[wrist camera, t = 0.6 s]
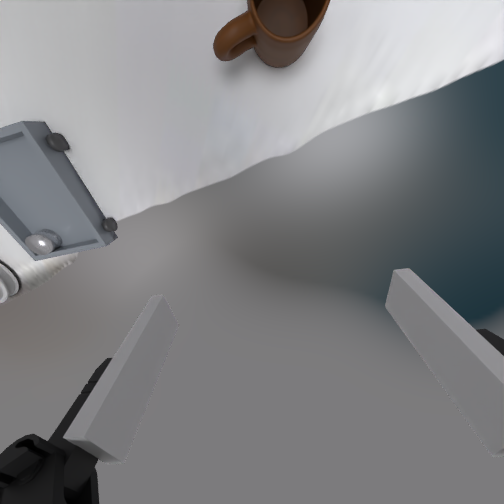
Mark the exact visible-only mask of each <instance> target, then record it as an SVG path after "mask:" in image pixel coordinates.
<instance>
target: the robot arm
mask: <svg viewBox="0 0 504 504" xmlns="http://www.w3.org/2000/svg"><path fill="white" fill-rule="evenodd" d="M385 307H386V308H387V310H388V311H389V313H390V314H391V315H392V317H393V318H394V320H395V321H396V323H397V324H398V325H399V327H400V328H401V330H402V331H403V332H404V334H405V335H406V337H407V338H408V339H409V341H410V342H411V344H412V345H413V346H414V348H415V349H416V351H417V352H418V353H419V355H420V356H421V358H422V359H423V360H424V362H425V363H426V365H427V366H428V367H429V369H430V370H431V372H432V373H433V374H434V376H435V377H436V379H437V380H438V381H439V383H440V384H441V386H442V387H443V389H444V390H445V391H446V393H447V394H448V396H449V397H450V398H451V400H452V401H453V403H454V404H455V405H456V407H457V408H458V409H459V411H460V412H461V414H462V415H463V416H464V418H465V419H466V421H467V422H468V424H469V425H470V426H471V428H472V429H473V431H474V432H475V433H476V435H477V436H478V437H479V439H480V440H481V442H482V443H483V445H484V446H485V447H486V449H487V450H488V452H489V453H490V454H491V456H492V457H504V339H502V338H500V337H499V336H497V335H495V334H493V333H492V332H490V331H488V330H486V329H480V330H475V329H474V328H473V327H471V325H470V324H468V323H467V322H466V321H465V320H464V319H463V318H462V317H461V316H460V315H459V314H458V313H457V312H456V311H454V310H453V309H452V308H451V307H450V306H449V305H448V304H447V303H446V302H445V301H444V300H443V299H441V298H440V297H439V296H438V295H437V294H436V293H435V292H434V291H433V290H432V289H431V288H429V286H428V285H426V284H425V283H424V282H423V281H422V280H421V279H420V278H419V277H418V276H417V275H416V274H415V273H414V272H413V271H411V270H410V269H409V268H408V269H399V270H394V272H393V276H392V280H391V284H390V288H389V292H388V296H387V300H386V304H385ZM178 327H179V324H178V322H177V320H176V318H175V316H174V314H173V312H172V310H171V308H170V306H169V304H168V302H167V300H166V298H165V296H164V295H156V296H151V298H150V300H149V301H148V303H147V304H146V306H145V307H144V309H143V311H142V312H141V314H140V316H139V317H138V319H137V320H136V322H135V323H134V325H133V327H132V328H131V330H130V332H129V333H128V335H127V336H126V338H125V339H124V341H123V343H122V344H121V346H120V347H119V349H118V350H117V352H116V354H115V355H114V357H113V358H107V359H106V360H105V361H104V362H103V363H102V364H101V365H100V366H99V367H98V368H97V369H96V370H95V372H94V373H93V375H92V376H91V378H90V379H89V381H88V384H86V385H85V387H84V388H83V390H82V392H81V394H80V395H79V396H78V397H77V399H76V400H75V402H74V403H73V405H72V406H71V408H70V409H69V411H68V412H67V414H66V415H65V417H64V418H63V420H62V421H61V423H60V425H59V426H58V427H57V429H56V430H55V432H54V433H53V435H52V436H51V437H50V439H49V440H48V441H46V440H44V439H42V438H41V437H39V436H37V435H35V434H30V435H26V436H24V437H22V438H20V439H18V440H16V441H15V442H14V443H13V444H11V445H10V446H9V447H7V448H6V449H5V450H4V451H3V452H2V453H1V454H0V504H99V493H98V479H97V472H96V469H95V468H94V467H95V465H96V463H97V461H98V459H99V460H101V461H102V462H104V463H106V464H123V463H124V462H125V460H126V457H127V455H128V453H129V450H130V447H131V445H132V442H133V440H134V437H135V435H136V432H137V430H138V427H139V425H140V422H141V420H142V417H143V415H144V412H145V410H146V407H147V405H148V402H149V399H150V397H151V395H152V392H153V390H154V387H155V384H156V382H157V379H158V377H159V374H160V372H161V369H162V367H163V364H164V362H165V359H166V357H167V354H168V352H169V349H170V346H171V344H172V342H173V339H174V337H175V334H176V332H177V329H178Z"/></svg>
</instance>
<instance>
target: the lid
mask: <svg viewBox="0 0 504 504" xmlns="http://www.w3.org/2000/svg"><path fill="white" fill-rule="evenodd" d="M18 290H19V284H18V281H17V279H16V277H15V276H14V275H13V274H12V272H11V271H10V270H9V269H7V268H6V267H5V266H4V265H2V264H1V263H0V303H2V302H4V301H5V300H7V298H8V297H9V296H12V295H14V294H16V293H17V292H18Z"/></svg>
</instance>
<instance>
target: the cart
mask: <svg viewBox="0 0 504 504" xmlns="http://www.w3.org/2000/svg"><path fill="white" fill-rule="evenodd" d="M68 147H69V146H68V143H67V141H66V140H65V138H64V137H62V136H61V135H60V134H58V133H51V131H50V129H49V128H48V126H47V125H46V123H45V122H33V121H21V122H18V123H15V124H12V125H9V126H5V127H2V128H0V224H1V225H2V226H3V227H4V228H5V229H6V230H7V231H8V232H9V233H10V234H11V236H12V237H13V238H14V239H15V240H16V241H17V242H18V243H19V244H20V245H21V246H22V247H23V249H24V250H25V251H26V252H27V253H28V254H29V255H30V256H31V257H32V258H33V259H34V260H35V261H38V260H42V259H47V258H52V257H57V256H61V255H66V254H71V253H76V252H80V251H85V250H90V249H95V248H100V247H104V246H107V245H108V244H110V243H111V242H112V241H114V240H115V239H116V238H118V237H117V235H116V234H115V232H114V231H116V230H117V223H116V221H115V220H114V219H111V218H109V219H106V218H105V216H104V215H103V213H102V212H101V210H100V208H99V207H98V205H97V204H96V202H95V201H94V199H93V197H92V196H91V194H90V193H89V191H88V189H87V188H86V186H85V185H84V183H83V182H82V180H81V178H80V177H79V175H78V174H77V172H76V171H75V169H74V167H73V166H72V164H71V163H70V161H69V159H68V158H67V156H66V155H65V153H64V152H63V151H65V150H68ZM43 229H49V230H52V231H54V232H56V233H57V234H58V235H59V236H60V237H61V239H62V242H63V243H62V246H60V247H59V248H57V249H55V250H54V251H52V252H50V253H49V254H47V255H39V254H36V253H34V252H32V251H31V250H30V249H29V248H28V247H27V246H26V244H25V239H26V238H27V237H28V236H30V235H33V234H35V233H37V232H39V231H41V230H43Z"/></svg>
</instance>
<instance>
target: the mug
mask: <svg viewBox="0 0 504 504" xmlns="http://www.w3.org/2000/svg"><path fill="white" fill-rule="evenodd" d="M329 3H330V0H247V4H248V11H246V12H245V13H243V14H241V15H239V16H238V17H236V18H234V19H232V20H231V21H230V22H228V23H227V24H226V25H225V26H224V27H223V28H222V29H221V30H220V31H219V32H218V33H217V35H216V37H215V40H214V43H213V49H214V52H215V55H216V57H217V58H218V59H220V60H221V61H230V60H233V59H235V58H236V57H238V56H240V55H241V54H243V53H244V52H245V51H247V50H249V49H251V48H253V47H254V49H255V51H256V53H257V54H258V56H259V57H260V58H261V59H262V60H263V61H264V62H265V63H266V64H268V65H270V66H273V67H285V66H288V65H290V64H292V63H293V62H295V61H296V60H297V59H298V58H299V57H300V56H301V55H302V53H303V52H304V51H305V49H306V47H307V46H308V44H309V43H310V41H311V39H312V38H313V36H314V35H315V33H316V31H317V30H318V28H319V26H320V24H321V22H322V20H323V18H324V15H325V13H326V11H327V8H328V5H329Z"/></svg>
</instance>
